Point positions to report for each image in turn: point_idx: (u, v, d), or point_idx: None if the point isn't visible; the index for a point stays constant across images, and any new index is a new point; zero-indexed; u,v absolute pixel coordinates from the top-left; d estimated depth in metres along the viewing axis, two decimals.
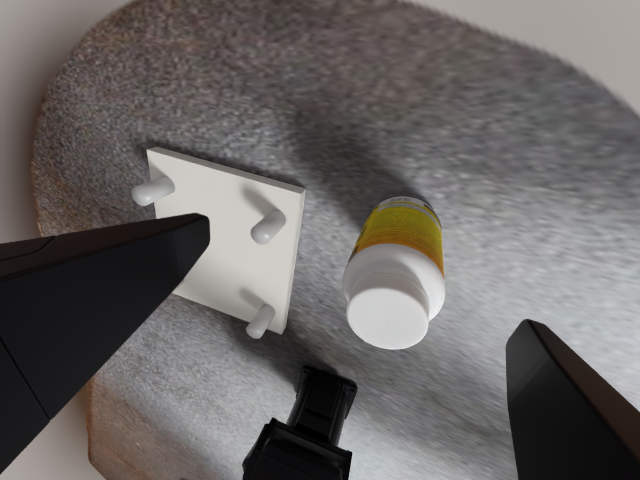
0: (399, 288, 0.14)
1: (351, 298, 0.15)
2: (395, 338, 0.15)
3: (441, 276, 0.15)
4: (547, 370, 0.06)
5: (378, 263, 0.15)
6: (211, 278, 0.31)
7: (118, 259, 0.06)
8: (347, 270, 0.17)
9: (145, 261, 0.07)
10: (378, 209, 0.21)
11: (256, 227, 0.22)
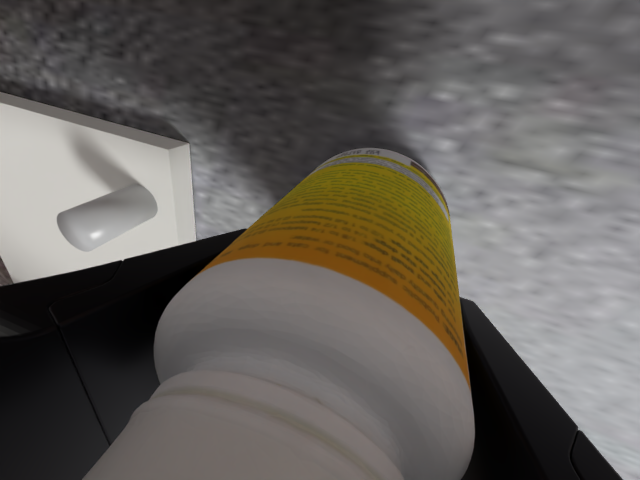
0: None
1: None
2: None
3: (462, 387, 0.04)
4: None
5: (219, 335, 0.04)
6: None
7: (184, 283, 0.06)
8: None
9: None
10: (310, 174, 0.09)
11: (62, 214, 0.11)
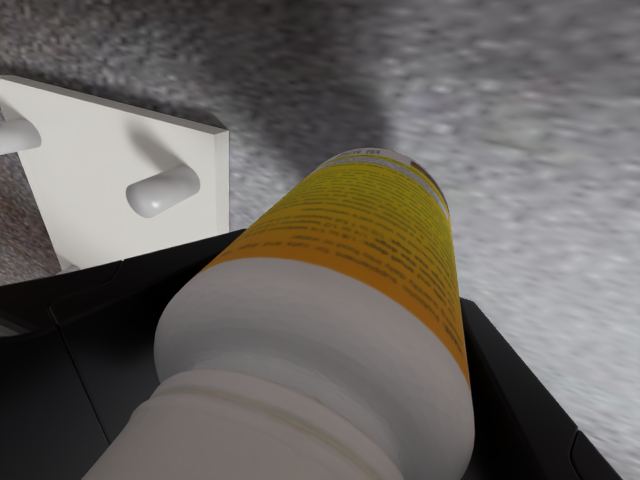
0: None
1: None
2: None
3: (462, 386, 0.04)
4: None
5: (219, 335, 0.04)
6: None
7: (184, 283, 0.06)
8: None
9: None
10: (310, 174, 0.09)
11: (132, 186, 0.13)
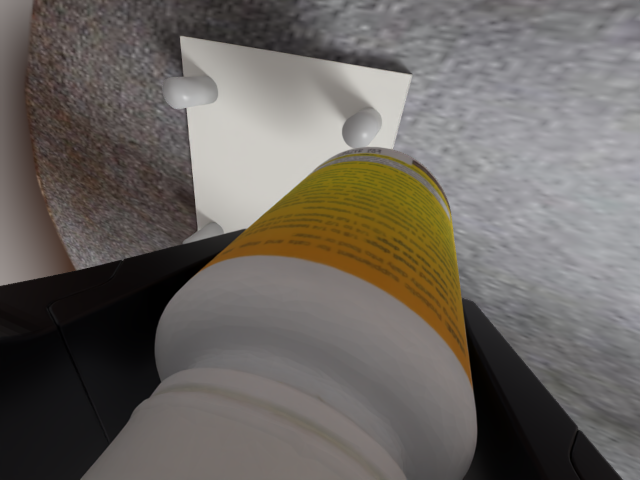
0: None
1: None
2: None
3: (464, 385, 0.04)
4: None
5: (220, 333, 0.04)
6: None
7: (184, 283, 0.06)
8: None
9: None
10: (311, 173, 0.09)
11: (353, 118, 0.15)
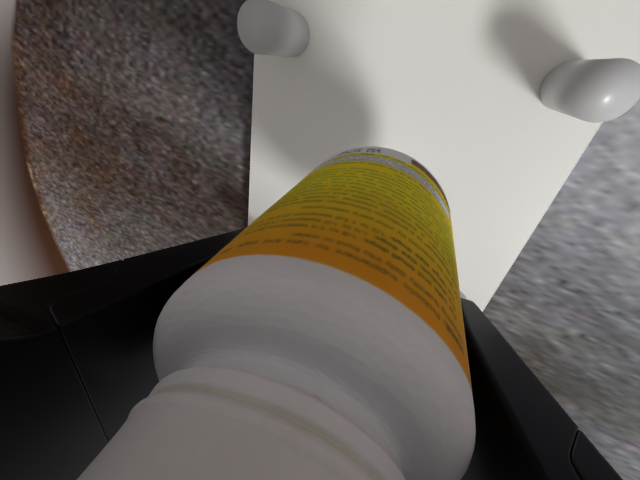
0: None
1: None
2: None
3: (463, 385, 0.04)
4: None
5: (218, 332, 0.04)
6: None
7: None
8: None
9: None
10: (310, 172, 0.09)
11: (607, 65, 0.08)
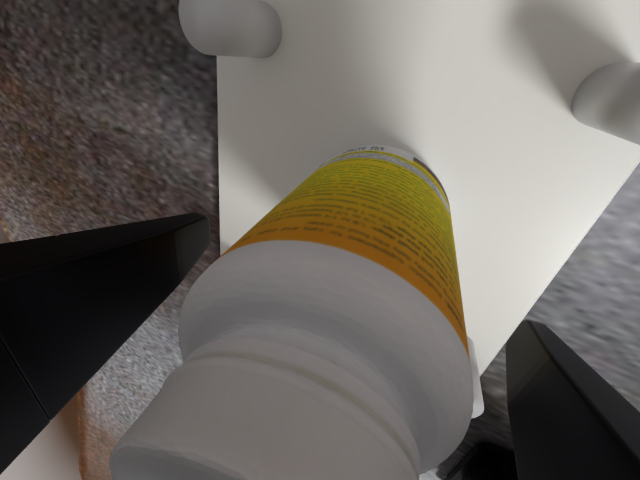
0: (264, 460, 0.03)
1: None
2: None
3: (462, 355, 0.04)
4: (547, 370, 0.06)
5: (244, 309, 0.04)
6: None
7: (118, 259, 0.06)
8: None
9: (145, 261, 0.07)
10: (317, 169, 0.10)
11: None
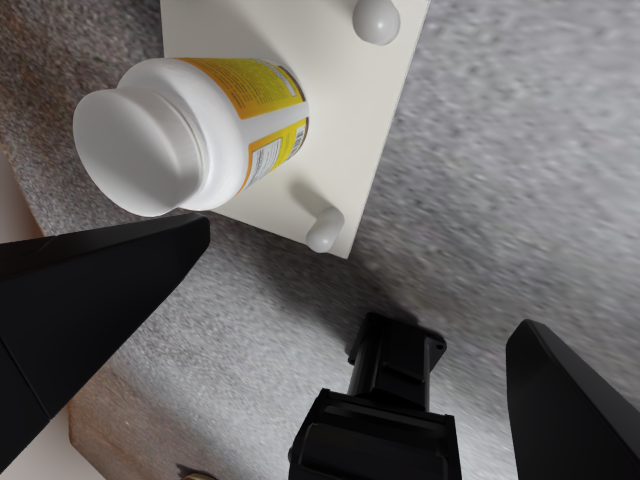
0: (120, 91, 0.09)
1: None
2: (148, 194, 0.10)
3: (230, 108, 0.10)
4: (547, 370, 0.06)
5: (135, 84, 0.10)
6: None
7: (118, 259, 0.06)
8: None
9: (145, 261, 0.07)
10: None
11: None
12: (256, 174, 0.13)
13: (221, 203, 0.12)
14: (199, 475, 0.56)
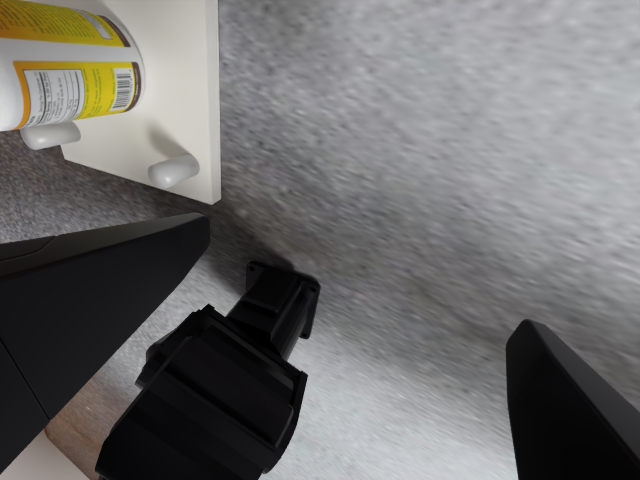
0: None
1: None
2: None
3: None
4: (547, 370, 0.06)
5: None
6: (111, 122, 0.22)
7: (118, 259, 0.06)
8: None
9: (145, 261, 0.07)
10: None
11: None
12: (48, 97, 0.14)
13: (8, 119, 0.14)
14: None
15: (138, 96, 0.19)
